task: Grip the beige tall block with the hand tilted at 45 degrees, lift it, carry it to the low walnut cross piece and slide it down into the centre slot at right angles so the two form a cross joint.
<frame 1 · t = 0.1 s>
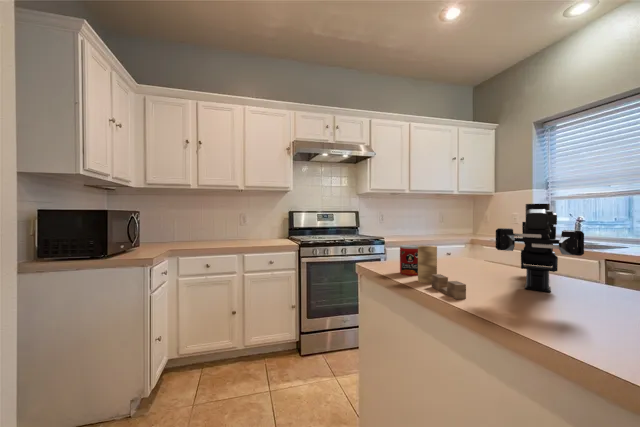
hand: (535, 243, 70), 17 cm above the counter, tool horizontal, fingers open, 9 cm apart
canned food: (409, 274, 112), on the counter
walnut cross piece: (447, 292, 86), on the counter
beige tall block: (427, 281, 99), on the counter
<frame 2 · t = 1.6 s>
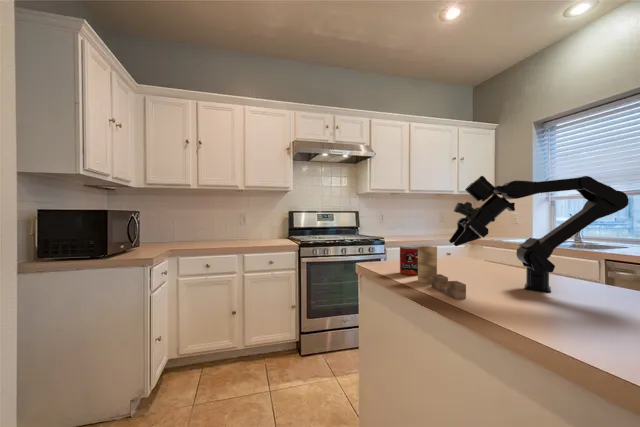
hand: (452, 243, 97), 14 cm above the counter, tool tilted 45°, fingers open, 9 cm apart
nothing on the counter moved.
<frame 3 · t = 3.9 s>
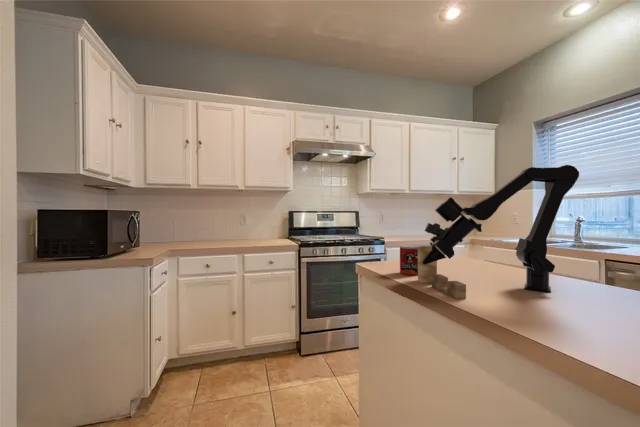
hand: (422, 262, 100), 7 cm above the counter, tool tilted 45°, fingers closed on beige tall block, 3 cm apart
beige tall block: (427, 281, 99), on the counter, touching gripper
everything else where it was.
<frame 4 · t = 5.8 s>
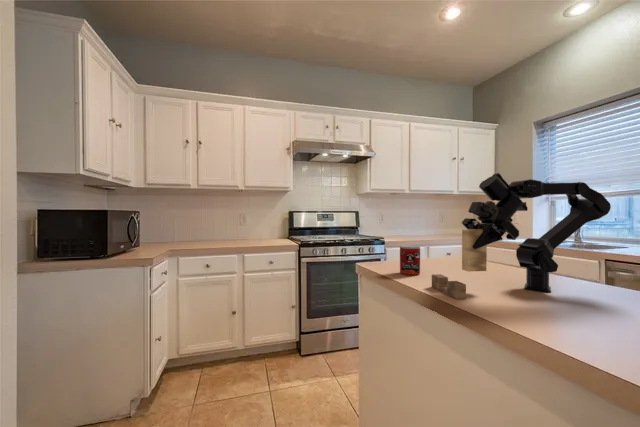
hand: (470, 247, 87), 14 cm above the counter, tool tilted 45°, fingers closed on beige tall block, 3 cm apart
beige tall block: (474, 270, 87), point 6 cm above the counter, touching gripper
everything else where it was.
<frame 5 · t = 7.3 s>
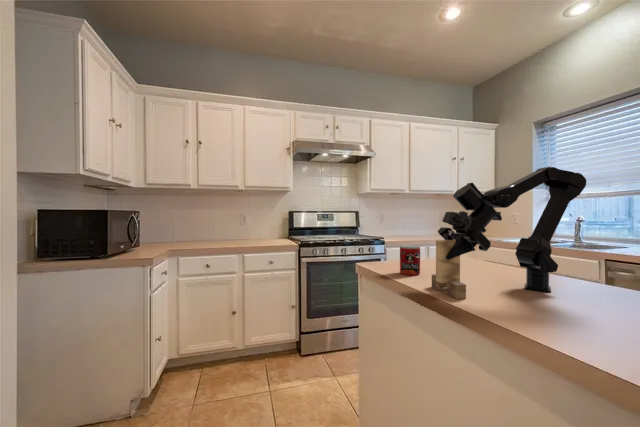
hand: (443, 257, 86), 11 cm above the counter, tool tilted 45°, fingers closed on beige tall block, 3 cm apart
beige tall block: (447, 281, 86), point 3 cm above the counter, touching gripper
everything else where it was.
when the fingers open (8 cm above the counter, at t = 8.1 s): beige tall block stays where it is, resting on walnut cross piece.
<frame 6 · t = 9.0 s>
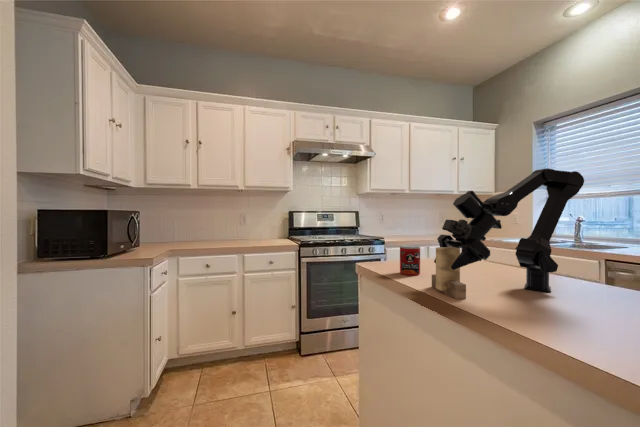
hand: (443, 265, 86), 8 cm above the counter, tool tilted 45°, fingers open, 9 cm apart
beige tall block: (447, 289, 86), point 1 cm above the counter, touching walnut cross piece
everything else where it was.
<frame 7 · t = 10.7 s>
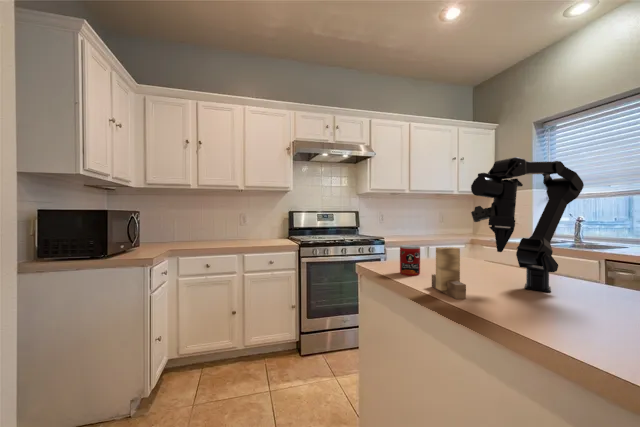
hand: (499, 251, 86), 12 cm above the counter, tool pointing down, fingers open, 9 cm apart
nothing on the counter moved.
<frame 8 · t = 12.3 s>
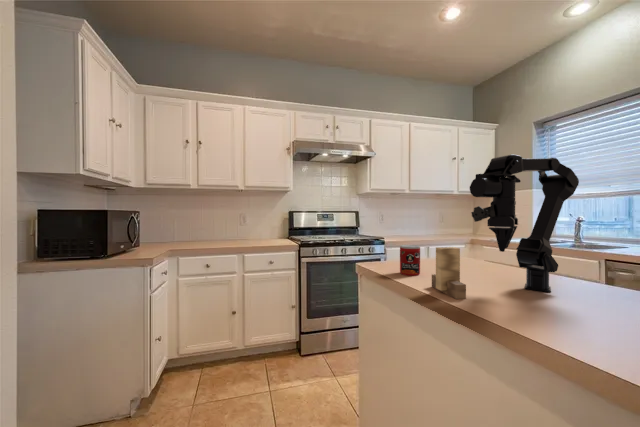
hand: (503, 249, 85), 13 cm above the counter, tool pointing down, fingers open, 9 cm apart
nothing on the counter moved.
at the end: beige tall block 0.0 cm off-centre on the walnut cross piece, point 1.0 cm above the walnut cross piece's base; beige tall block tilted 0°; the gripper is holding nothing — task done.
